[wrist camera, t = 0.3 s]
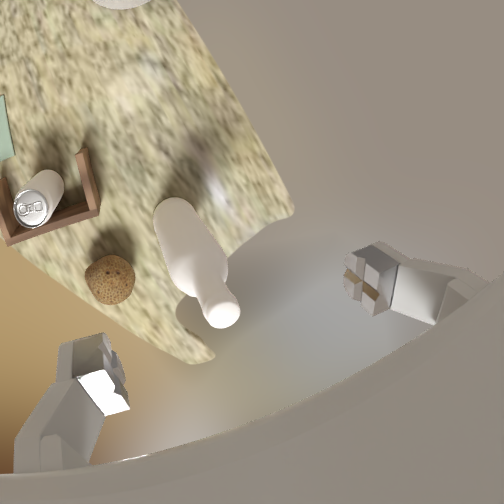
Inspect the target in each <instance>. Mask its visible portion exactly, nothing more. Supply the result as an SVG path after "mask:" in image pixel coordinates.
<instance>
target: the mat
mask: <svg viewBox="0 0 504 504" xmlns="http://www.w3.org/2000/svg"><path fill="white" fill-rule="evenodd" d="M14 155H15V152H14V148H13V143H12V138H11V134H10V128H9V123H8V118H7V112H6V106H5V99H4V95H3V96H0V161H3V160H5V159H7V158H10V157H12V156H14Z"/></svg>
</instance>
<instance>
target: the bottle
mask: <svg viewBox="0 0 504 504" xmlns="http://www.w3.org/2000/svg"><path fill="white" fill-rule="evenodd" d="M153 224H154V229H155V232H156V234H157V237H158V240H159V243H160V246H161V250H162V253H163V256H164V259H165V262H166V265H167V268H168V271H169V274H170V277H171V279H172V281H173V282H174V284H175V285H176V287H178V288H179V289H180V290H182V291H183V292H185V293H186V294H188V295H190V296H193V297H197V298H198V301H199V303H200V305H201V307H202V311H203V315H204V317H205V318H206V320H208V322H209V323H210V325H211V326H213V327H215V328H226V327H228V326H231V325H232V324H233V323H235V322H236V321H237V319H238V318H239V316H240V307H239V305H238V301H237V299H236V298H235V296H234V295H233V294H231V293H230V291H229V289H228V287H227V286H226V284H225V281H226V278H227V274H228V264H227V256H226V254H225V252H224V251H223V249H222V247H221V246H220V245H219V243H218V242H217V240H216V239H215V238H214V236H213V235H212V234H211V232H210V231H209V229H208V228H207V227H206V225H205V224H204V223H203V221H202V220H201V218H200V217H199V216H198V214H197V213H196V211H195V209H194V208H193V206H192V205H191V204H190V203H188V202H187V201H186V200H185V199H182V198H179V197H170V198H168V199H165V200H163V201H162V202H161V203H160V204H158V206H157V207H156V209H155V211H154V214H153Z"/></svg>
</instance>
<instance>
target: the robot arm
mask: <svg viewBox="0 0 504 504" xmlns="http://www.w3.org/2000/svg"><path fill="white" fill-rule="evenodd" d="M93 1H94V2H95V3H97V4H99V5H101V6H103V7H106V8H110V9H129V8H134V7H137V6H140V5H143V4H145V3H147V2H149V1H151V0H93ZM344 265H345V266H346V268H347V270H346V272H345V274H344V279H343V284H344V287H345V290H346V292H347V293H348V295H349V296H350V297H351V298H352V299H354V300H357V301H360V302H361V307H362V308H364V309H365V310H366V311H367V312H368V313H369V314H370V315H371V316H372V317H373V316H375V315H377V314H379V313H381V312H384V311H386V310H388V309H390V308H391V310H394V311H397V312H400V313H402V314H405V315H408V316H410V317H413V318H416V319H418V320H421V321H424V322H426V323H429V324H432V325H434V326H432V327H431V328H429V329H428V330H426V331H425V332H423V333H422V334H421V335H419V336H417V337H416V338H415V339H413V340H411V341H410V342H408V343H406V344H405V345H403V346H402V347H400V348H398V349H397V350H396V351H394V352H392V353H390V354H389V355H387V356H385V357H384V358H382V359H380V360H378V361H377V362H375V363H373V364H372V365H370V366H368V367H366V368H364V369H363V370H361V371H359V372H357V373H355V374H353V375H352V376H350V377H348V378H346V379H344V380H342V381H340V382H338V383H336V384H334V385H332V386H330V387H328V388H326V389H324V390H322V391H320V392H318V393H316V394H314V395H312V396H310V397H308V398H305V399H303V400H301V401H299V402H297V403H294V404H292V405H290V406H288V407H285V408H283V409H281V410H278V411H276V412H274V413H271V414H269V415H267V416H264V417H261V418H259V419H256V420H254V421H251V422H249V423H246V424H243V425H241V426H238V427H235V428H233V429H230V430H227V431H224V432H221V433H218V434H216V435H212V436H210V437H206V438H203V439H200V440H197V441H194V442H191V443H187V444H184V445H180V446H177V447H173V448H170V449H166V450H163V451H159V452H155V453H151V454H147V455H142V456H138V457H134V458H129V459H125V460H121V461H116V462H110V463H105V464H99V465H93V466H92V465H91V464H90V463H89V459H90V457H91V454H92V451H93V449H94V446H95V443H96V441H97V438H98V436H99V433H100V430H101V428H102V425H103V423H104V420H105V416H106V415H110V414H114V413H117V412H121V411H125V410H128V409H130V405H129V400H128V393H127V391H126V389H125V387H124V386H123V385H124V383H125V381H126V380H125V373H124V370H123V367H122V364H121V361H120V359H119V357H118V355H117V353H116V352H114V351H113V350H111V342H110V340H109V338H108V336H107V335H106V334H105V333H99V334H95V335H92V336H88V337H84V338H80V339H76V340H72V341H69V342H65V343H61V344H60V346H59V351H58V361H57V373H56V383H53V384H51V385H50V387H49V388H48V390H47V391H46V393H45V394H44V396H43V397H42V398H41V400H40V401H39V403H38V404H37V406H36V407H35V409H34V410H33V412H32V413H31V415H30V416H29V418H28V419H27V421H26V422H25V424H24V425H23V427H22V429H21V430H20V432H19V433H18V435H17V437H16V438H15V447H14V474H0V504H504V272H503V273H502V274H501V275H499V276H498V277H497V278H496V279H495V280H493V281H492V282H491V283H489V282H488V281H486V280H485V279H483V278H482V277H480V276H479V275H477V274H476V273H474V272H473V271H471V270H469V269H466V268H462V267H457V266H452V265H447V264H442V263H436V262H431V261H426V260H421V259H416V258H413V259H410V258H408V257H407V256H405V255H404V254H402V253H400V252H399V251H397V250H396V249H394V248H392V247H391V246H389V245H387V244H386V243H384V242H381V241H378V242H376V243H373V244H371V245H369V246H367V247H364V248H362V249H359V250H356V251H353V252H351V253H348V254H346V257H345V263H344Z"/></svg>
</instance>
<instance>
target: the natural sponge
mask: <svg viewBox="0 0 504 504" xmlns="http://www.w3.org/2000/svg"><path fill="white" fill-rule="evenodd" d="M85 280H86V282H87V285H88V287H89V289H90V290H91V292H92V294H93V295H94V297H95V298H96V299H97V300H98V301H99V302H101V303H103V304H107V305H115V304H118V303H120V302H122V301H124V300H125V299H127V298H128V297H129V296H130V294H131V292H132V289H133V286H134V283H135V273H134V270H133V268H132V267H131V265H130V264H129V263H128V262H127V261H126V260H125V259H123V258H121V257H119V256H116V255H107V256H104V257H102V258H100V259H99V260H97V261H96V262H94V263H93V264H91V265H90V266H89V267H88V268H87V269H86V271H85Z"/></svg>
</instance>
